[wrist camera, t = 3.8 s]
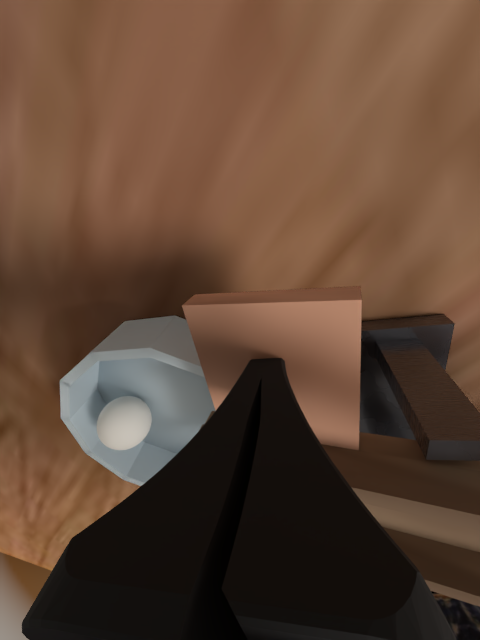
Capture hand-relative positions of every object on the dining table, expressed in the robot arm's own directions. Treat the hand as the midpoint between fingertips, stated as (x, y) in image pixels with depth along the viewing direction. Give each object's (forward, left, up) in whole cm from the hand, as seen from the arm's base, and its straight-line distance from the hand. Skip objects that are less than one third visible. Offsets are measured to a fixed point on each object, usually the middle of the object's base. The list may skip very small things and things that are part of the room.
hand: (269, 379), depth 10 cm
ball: (-6, +11, -4) cm, 13 cm away
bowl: (-6, +8, -6) cm, 12 cm away
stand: (-6, -6, -6) cm, 10 cm away
